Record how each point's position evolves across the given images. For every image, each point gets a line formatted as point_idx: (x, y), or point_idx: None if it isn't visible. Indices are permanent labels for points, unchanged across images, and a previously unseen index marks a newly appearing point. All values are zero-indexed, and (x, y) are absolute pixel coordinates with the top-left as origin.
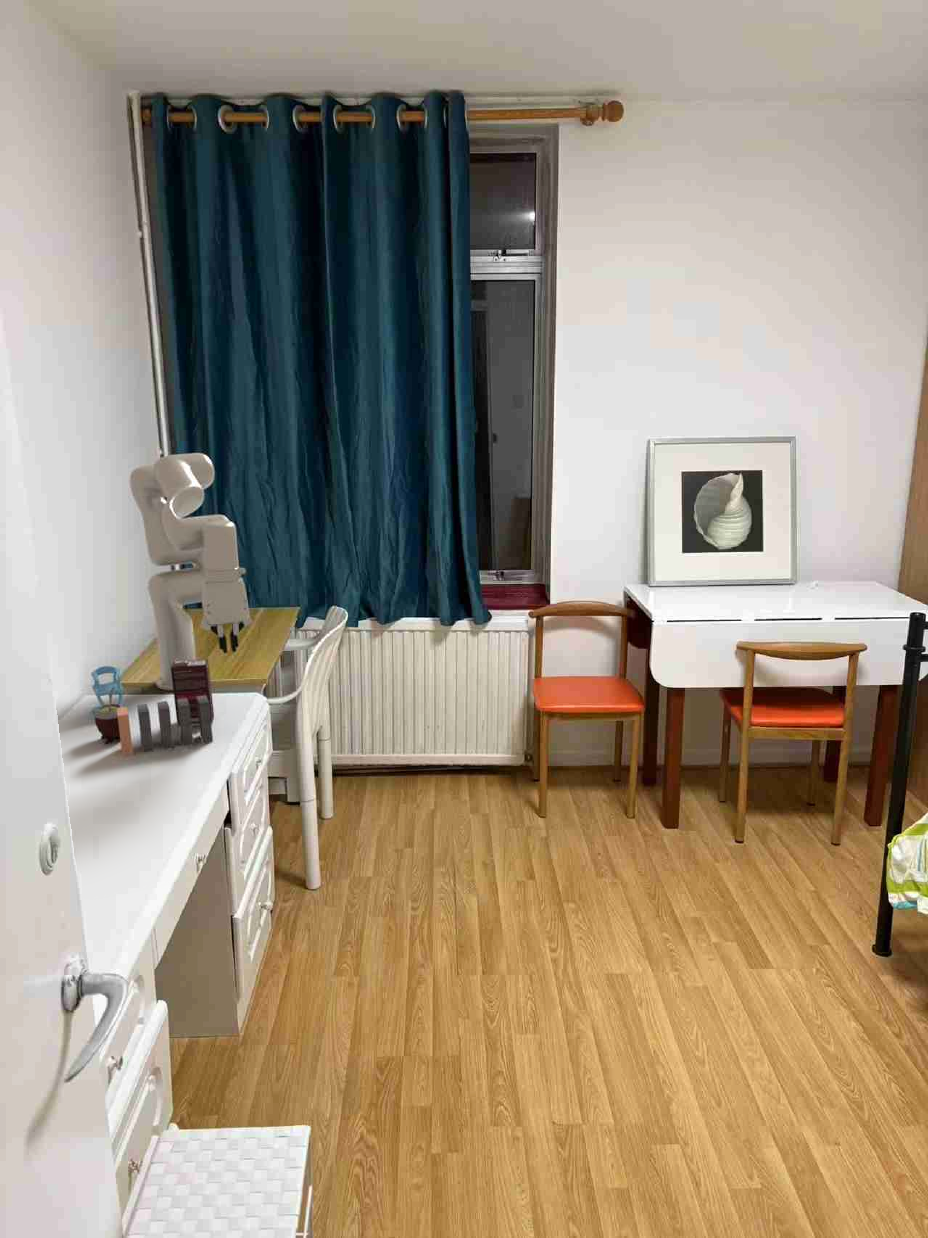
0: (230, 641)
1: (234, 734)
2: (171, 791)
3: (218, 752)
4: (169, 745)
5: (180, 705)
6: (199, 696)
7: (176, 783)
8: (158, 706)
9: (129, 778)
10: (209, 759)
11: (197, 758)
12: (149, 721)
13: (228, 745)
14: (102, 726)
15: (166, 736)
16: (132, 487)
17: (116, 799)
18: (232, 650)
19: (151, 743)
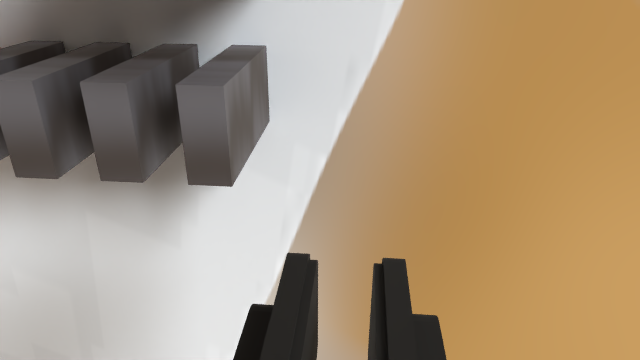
0: (374, 320)
1: (350, 92)
2: (147, 353)
3: (276, 207)
4: None
5: (103, 169)
6: (189, 93)
7: (157, 325)
8: (4, 136)
9: (39, 256)
10: (245, 239)
11: (213, 219)
12: (4, 156)
13: (313, 172)
14: None
15: None
16: None
17: (30, 337)
18: (369, 333)
19: None
